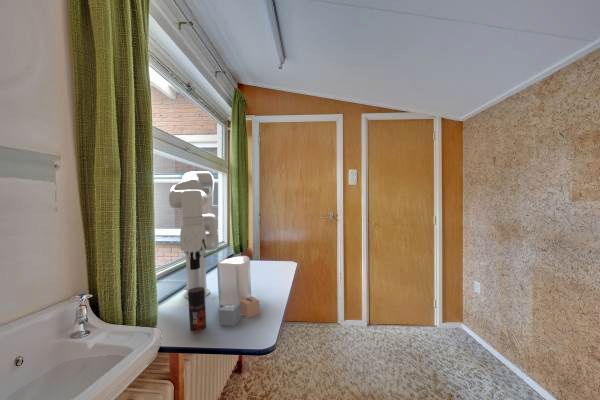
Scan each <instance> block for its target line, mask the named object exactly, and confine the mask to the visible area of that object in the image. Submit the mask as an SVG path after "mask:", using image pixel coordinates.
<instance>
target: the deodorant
mask: <svg viewBox="0 0 600 400" xmlns="http://www.w3.org/2000/svg"><path fill="white" fill-rule="evenodd" d="M205 297H206V296H205V290H204V288H203V287H196V288H192V289H190V290H188V317H189V318H188V319H189V320H188V321H189V330H190V332H192V333H196V332H197V333H198V332H201V331H203V330H205V329H206V328H207V315H206V314H207V313H206V298H205Z"/></svg>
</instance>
